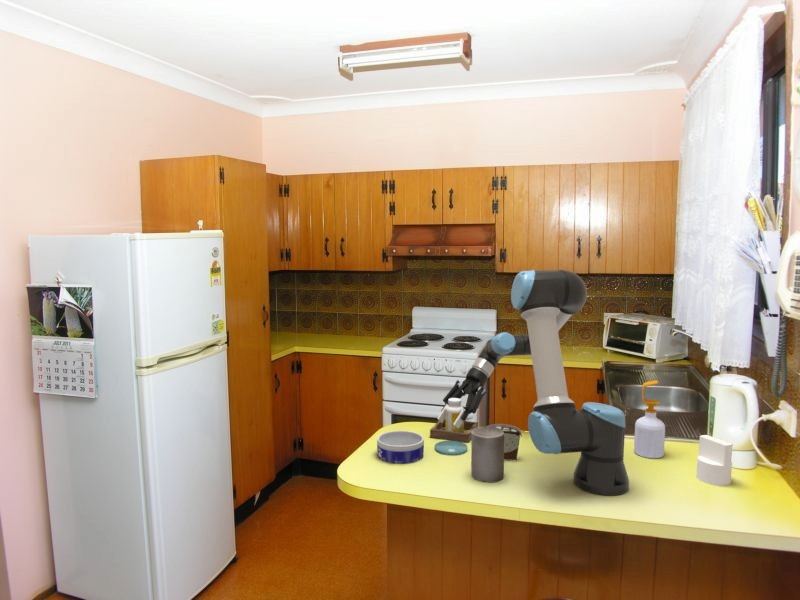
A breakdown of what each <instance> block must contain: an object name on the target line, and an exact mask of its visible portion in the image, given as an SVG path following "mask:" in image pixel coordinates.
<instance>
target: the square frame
mask: <svg viewBox="0 0 800 600" xmlns="http://www.w3.org/2000/svg"><path fill="white" fill-rule="evenodd" d="M477 427H479V422H477V421H469V420H468V421H467V420H465V421H464V431H465V430H466V431H467V432H464V433H460V432H452V431H445V429H444V430H443V428H445V420H444V421H443V423H441V422H440V421H439V420H438V421H437V422H436V423H435V424H434V425H433V426H432V427H431V428H430V430H429V438H430V439H436V440H443V441H458V442H462V443H464V444H469V443H470V441H471V432H472V430H473V429H474V428H477Z"/></svg>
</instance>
